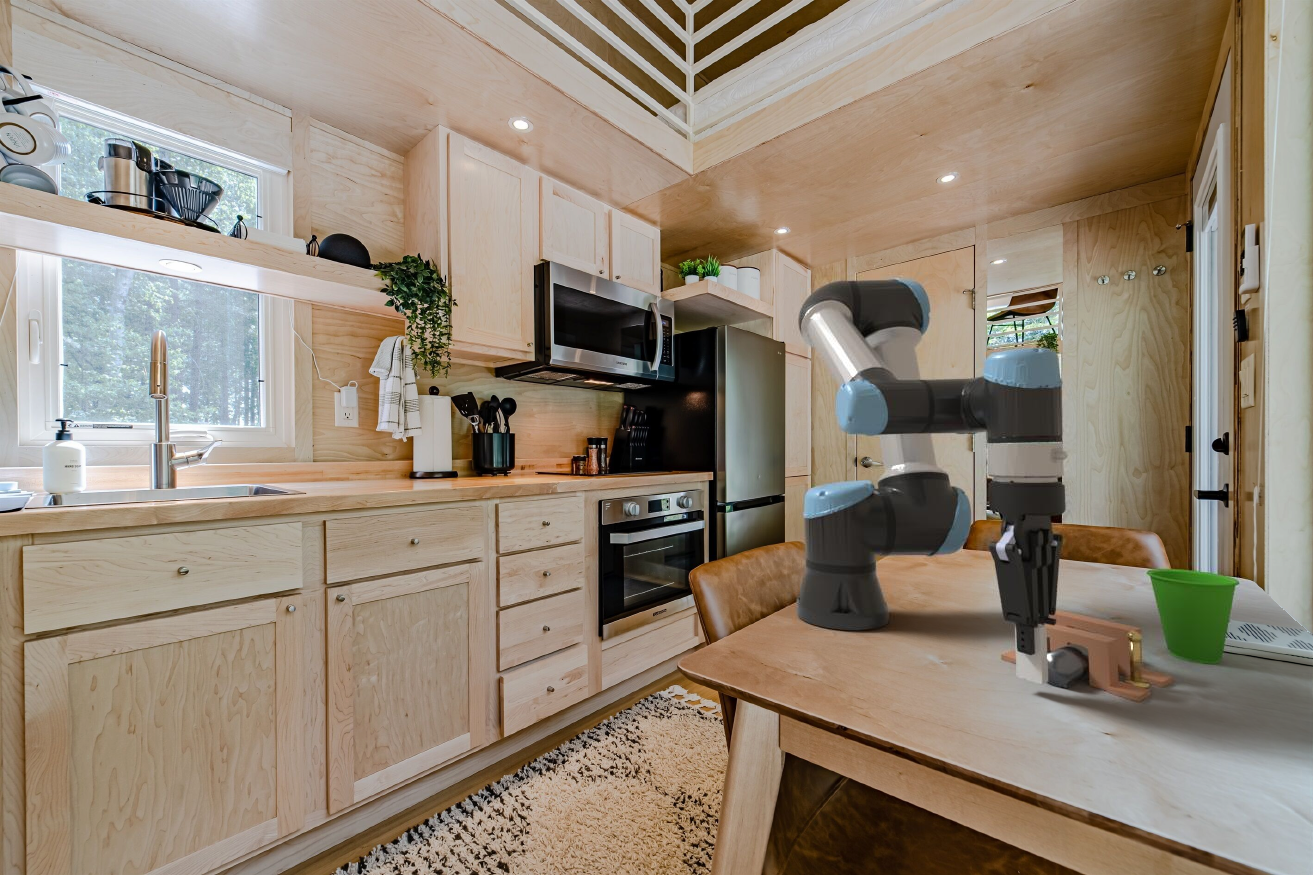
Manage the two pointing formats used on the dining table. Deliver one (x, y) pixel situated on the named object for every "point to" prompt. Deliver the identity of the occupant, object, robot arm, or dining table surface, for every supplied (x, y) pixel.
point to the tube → (1068, 665)
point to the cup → (1193, 612)
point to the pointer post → (1135, 661)
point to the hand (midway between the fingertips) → (1032, 678)
